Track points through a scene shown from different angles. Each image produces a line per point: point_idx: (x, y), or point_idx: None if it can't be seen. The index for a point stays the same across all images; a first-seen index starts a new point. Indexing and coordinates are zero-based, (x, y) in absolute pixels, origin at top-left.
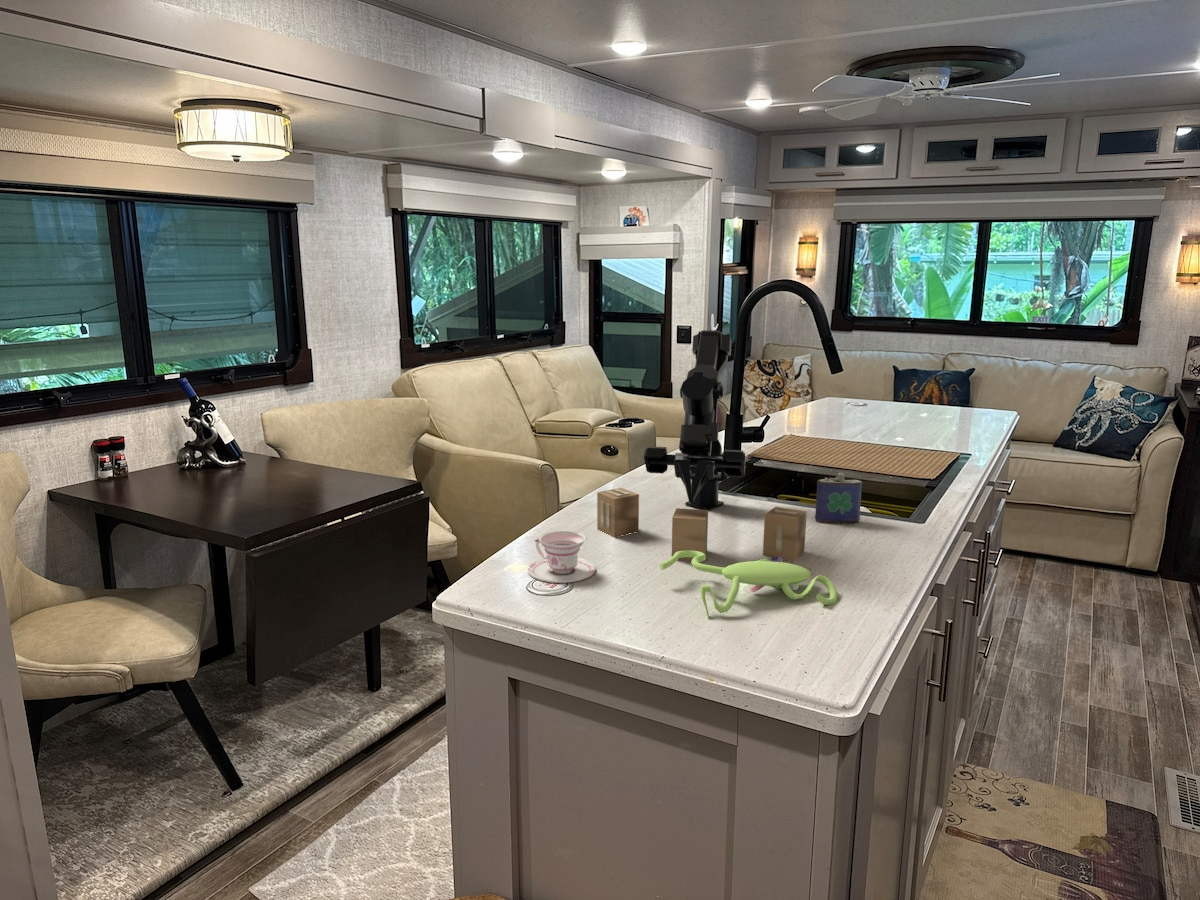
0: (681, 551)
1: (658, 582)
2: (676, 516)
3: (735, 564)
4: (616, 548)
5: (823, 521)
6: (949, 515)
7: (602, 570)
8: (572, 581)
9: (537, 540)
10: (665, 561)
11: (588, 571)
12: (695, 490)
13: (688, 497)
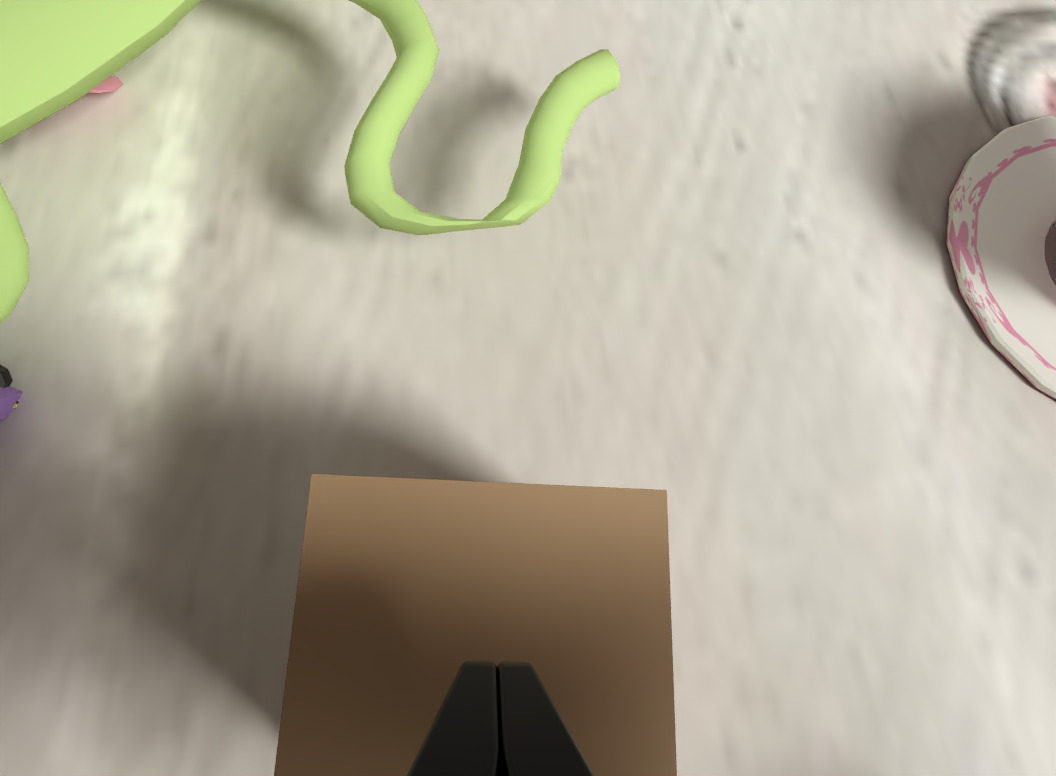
0: (513, 205)
1: (608, 180)
2: (630, 532)
3: None
4: (981, 690)
5: None
6: None
7: (924, 298)
8: (1001, 131)
9: None
10: (595, 66)
11: (985, 272)
12: (425, 768)
13: (535, 671)
